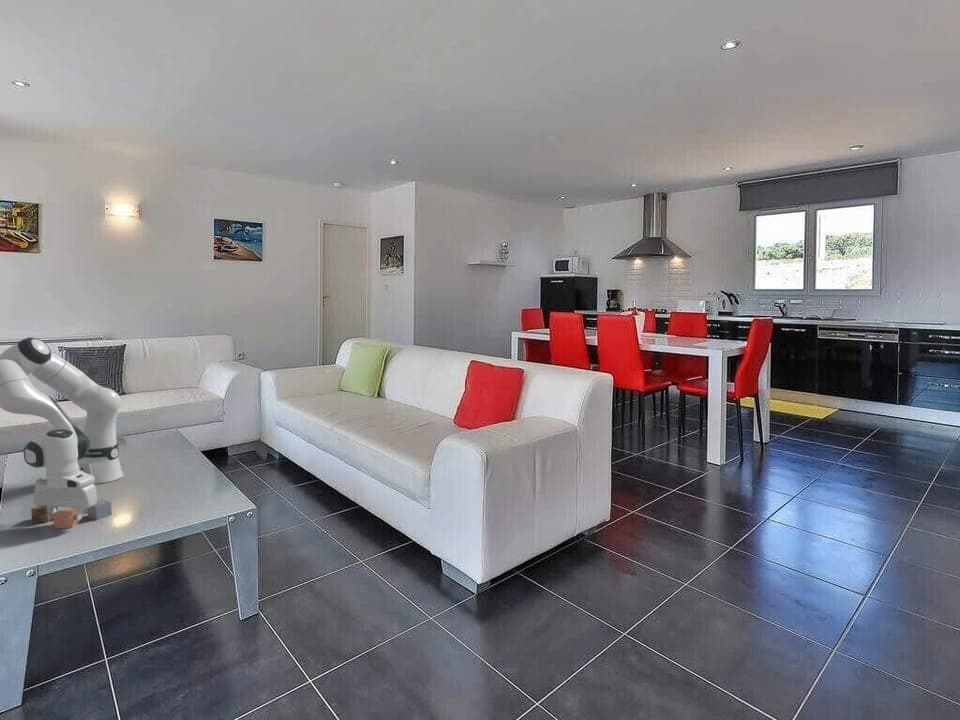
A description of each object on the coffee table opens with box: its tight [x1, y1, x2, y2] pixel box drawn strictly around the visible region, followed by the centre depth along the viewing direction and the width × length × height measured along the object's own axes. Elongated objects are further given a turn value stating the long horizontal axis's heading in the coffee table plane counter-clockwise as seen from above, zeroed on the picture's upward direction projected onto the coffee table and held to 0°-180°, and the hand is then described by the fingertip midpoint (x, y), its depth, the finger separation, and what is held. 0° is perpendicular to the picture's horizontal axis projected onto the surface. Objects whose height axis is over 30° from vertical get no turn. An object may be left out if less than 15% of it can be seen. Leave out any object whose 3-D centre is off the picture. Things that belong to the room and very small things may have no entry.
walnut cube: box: [30, 505, 58, 524], centre depth 189 cm, size 5×5×5 cm
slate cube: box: [86, 498, 113, 521], centre depth 192 cm, size 5×5×5 cm
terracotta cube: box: [52, 507, 81, 529], centre depth 185 cm, size 5×5×5 cm
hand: (66, 518), depth 185 cm, fingers open, 7 cm apart
